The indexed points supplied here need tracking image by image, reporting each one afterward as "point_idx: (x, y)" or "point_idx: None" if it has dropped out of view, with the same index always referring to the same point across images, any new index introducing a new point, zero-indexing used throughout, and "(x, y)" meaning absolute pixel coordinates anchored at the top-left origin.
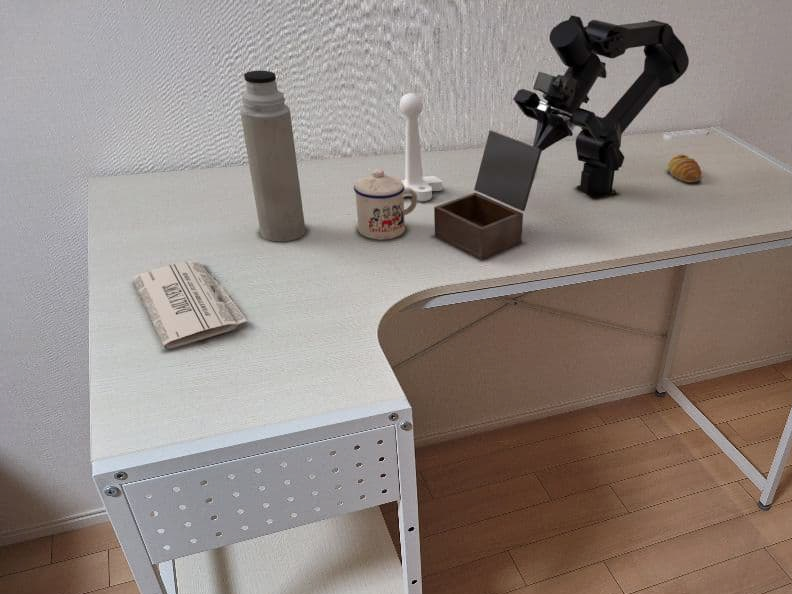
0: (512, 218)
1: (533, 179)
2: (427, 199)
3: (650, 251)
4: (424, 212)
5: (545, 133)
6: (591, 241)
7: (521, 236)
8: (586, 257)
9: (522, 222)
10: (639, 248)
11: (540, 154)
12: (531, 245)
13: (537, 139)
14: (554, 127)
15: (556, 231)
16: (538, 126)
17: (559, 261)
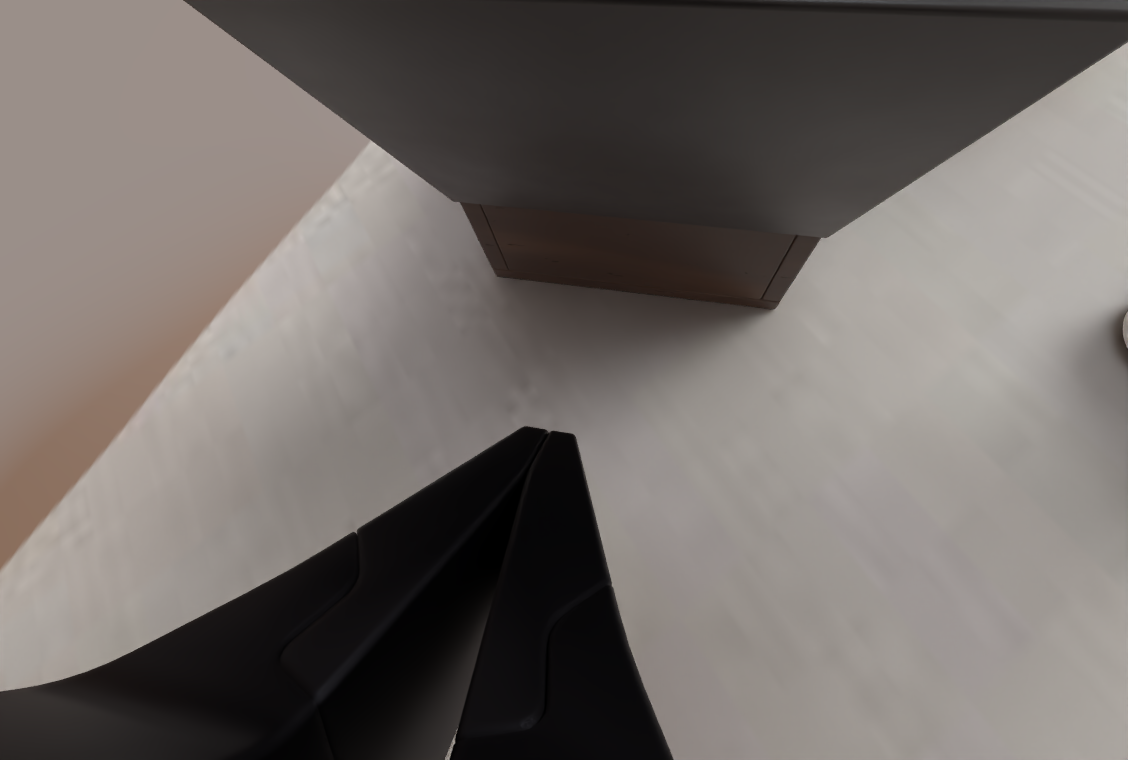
0: None
1: (363, 133)
2: (1124, 323)
3: (18, 559)
4: (1013, 237)
5: (372, 568)
6: (262, 478)
7: (489, 259)
8: (237, 341)
9: (471, 224)
10: (64, 555)
11: (212, 15)
12: (455, 288)
13: (531, 504)
14: (83, 686)
15: (429, 465)
16: (589, 685)
17: (313, 254)
